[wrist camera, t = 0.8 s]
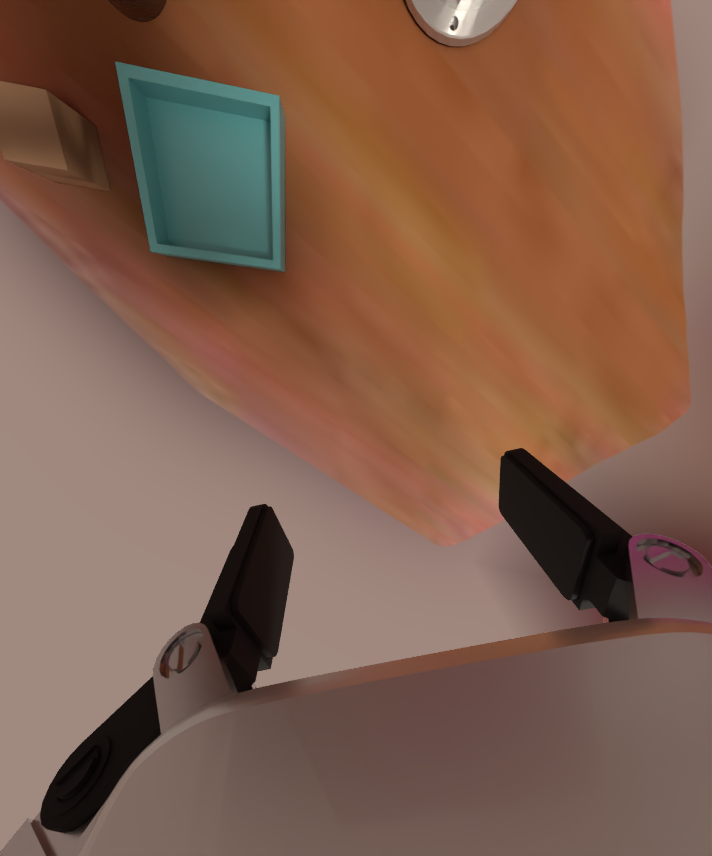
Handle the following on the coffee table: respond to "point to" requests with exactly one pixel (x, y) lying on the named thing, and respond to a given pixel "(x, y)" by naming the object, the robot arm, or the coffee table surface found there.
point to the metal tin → (140, 8)
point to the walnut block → (49, 138)
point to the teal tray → (207, 167)
